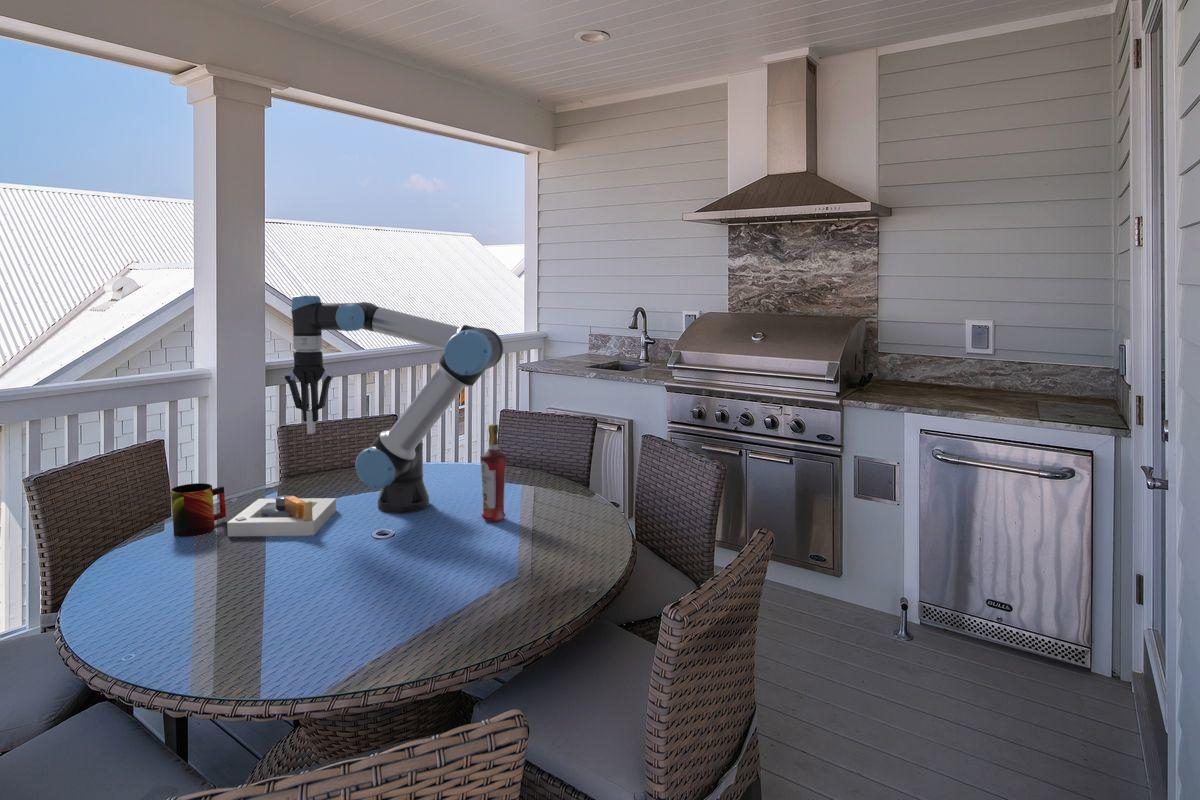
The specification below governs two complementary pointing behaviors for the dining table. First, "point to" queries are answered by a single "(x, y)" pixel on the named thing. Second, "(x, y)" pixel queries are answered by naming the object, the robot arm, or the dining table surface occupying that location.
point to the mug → (195, 509)
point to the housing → (282, 519)
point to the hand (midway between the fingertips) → (311, 432)
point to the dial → (284, 508)
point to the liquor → (493, 478)
